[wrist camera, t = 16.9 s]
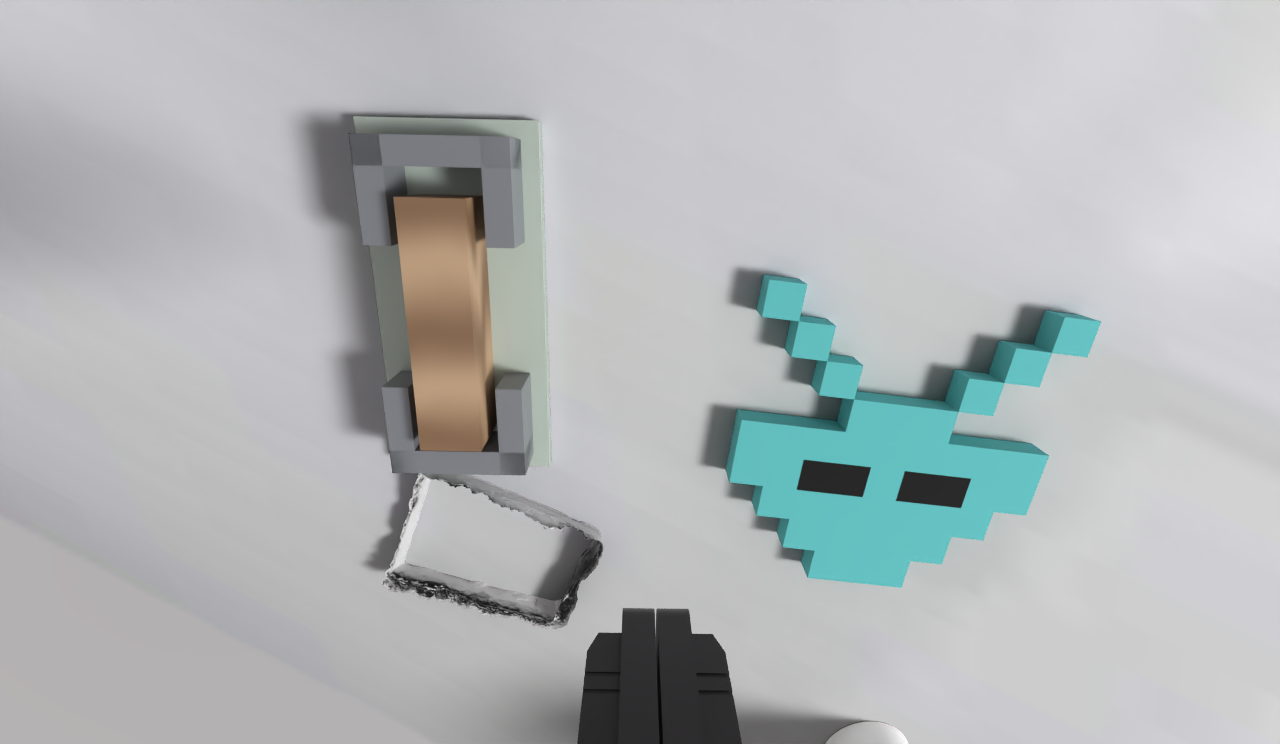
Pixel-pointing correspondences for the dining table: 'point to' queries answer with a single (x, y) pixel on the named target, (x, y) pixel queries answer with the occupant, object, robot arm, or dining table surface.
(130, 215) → the dining table surface
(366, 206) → the end caps
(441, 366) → the slat
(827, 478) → the alien figure
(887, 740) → the cylindrical container
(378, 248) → the cradle board
